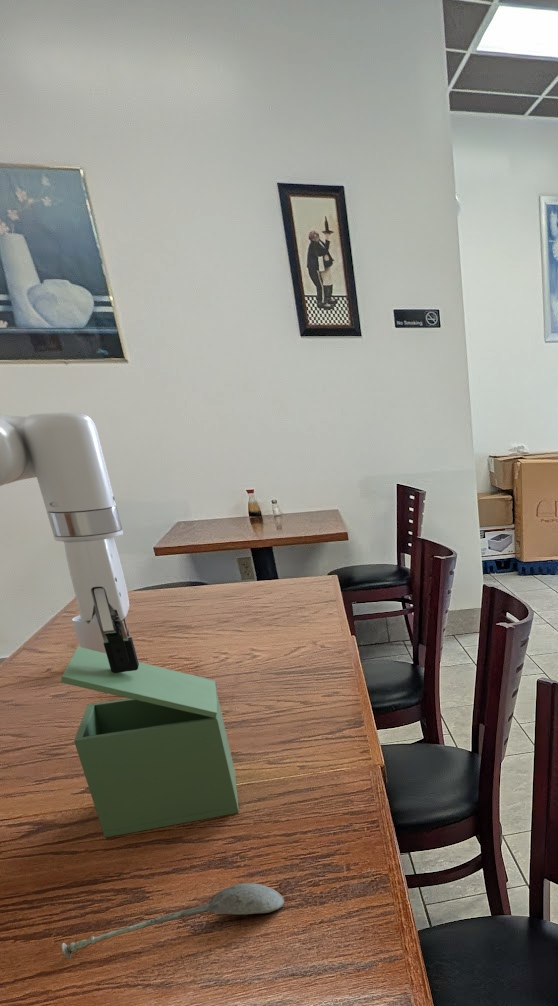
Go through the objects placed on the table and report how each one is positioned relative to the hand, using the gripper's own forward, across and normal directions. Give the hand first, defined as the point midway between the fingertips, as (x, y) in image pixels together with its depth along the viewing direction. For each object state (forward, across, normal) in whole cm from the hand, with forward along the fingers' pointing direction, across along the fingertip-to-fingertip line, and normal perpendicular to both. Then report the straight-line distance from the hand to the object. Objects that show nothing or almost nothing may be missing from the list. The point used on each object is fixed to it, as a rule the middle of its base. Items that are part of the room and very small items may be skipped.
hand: (125, 669), depth 108 cm
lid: (+2, 0, +2) cm, 3 cm away
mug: (+20, -88, -15) cm, 92 cm away
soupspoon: (+20, +34, +3) cm, 40 cm away
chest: (+20, 0, +2) cm, 20 cm away
